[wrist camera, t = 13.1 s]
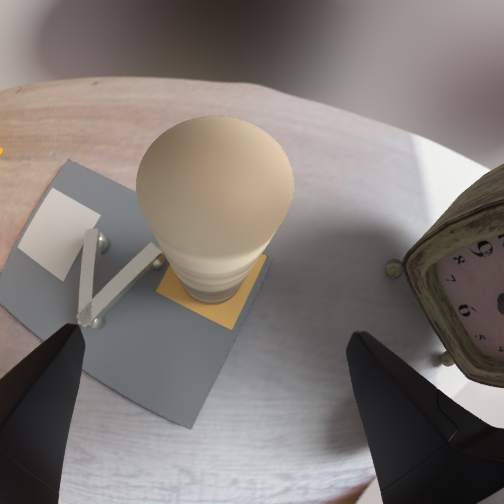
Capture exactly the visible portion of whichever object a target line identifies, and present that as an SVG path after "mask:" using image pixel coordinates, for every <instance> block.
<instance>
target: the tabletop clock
mask: <svg viewBox="0 0 504 504" xmlns="http://www.w3.org/2000/svg"><path fill="white" fill-rule="evenodd" d="M403 271H404V273H405V276H406V279H407V281H408V283H409V285H410V288H411V289H412V291H413V293H414V295H415V297H416V299H417V300H418V302H419V304H420V306H421V308H422V309H423V311H424V313H425V315H426V317H427V319H428V321H429V322H430V324H431V326H432V328H433V330H434V331H435V333H436V334H437V336H438V337H439V339H440V341H441V342H442V344H443V345H444V347H445V349H446V350H447V351H445V352H444V353H443V355H442V357H441V361H442V363H443V364H444V365H445V366H451V365H453V364H454V363H455V364H456V366H457V367H458V368H459V370H460V371H461V372H462V373H463V374H464V375H465V376H466V377H467V378H468V379H470V380H472V381H475V382H478V383H480V384H484V385H488V386H493V387H499V388H504V164H502V165H500V166H499V167H497V168H495V169H493V170H492V171H490V172H488V173H486V174H484V175H483V176H482V177H481V178H480V179H479V180H477V181H476V182H475V183H474V184H473V185H471V186H470V187H469V188H468V189H466V190H465V191H464V192H463V193H462V194H461V195H460V196H459V197H458V198H457V199H456V200H455V201H454V202H453V203H452V204H451V206H450V207H449V208H448V209H447V210H446V211H445V212H444V214H443V215H442V216H441V217H440V218H439V219H438V220H437V221H436V222H435V224H434V225H433V226H432V227H431V228H430V229H429V230H428V231H427V232H426V233H425V234H424V235H423V236H422V238H421V239H420V240H419V241H418V242H417V243H416V244H415V245H414V246H413V247H412V248H411V249H410V250H409V251H408V252H407V254H406V256H405V258H404V259H403V261H402V262H401V261H400V260H397V259H392V260H390V261H389V262H388V264H387V265H386V272H387V274H388V275H389V276H390V277H394V278H397V277H399V276H401V274H402V273H403Z"/></svg>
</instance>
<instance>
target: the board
mask: <svg viewBox="0 0 504 504" xmlns="http://www.w3.org/2000/svg"><path fill="white" fill-rule="evenodd" d="M92 228H98V229H99V230H100V231H101V232H102V233H103V234H104V235H105V236H106V237H107V238H108V239H109V240H110V243H111V246H110V249H109V251H108V252H107V253H105V254H100V264H99V276H98V292H97V294H98V293H99V292H100V291H101V290H102V289H103V288H104V287H105V286H106V285H107V284H108V283H109V282H110V281H111V280H112V279H113V278H114V277H115V276H116V275H117V274H118V273H119V272H120V271H121V270H122V269H123V268H124V267H125V266H126V265H127V264H128V263H129V262H130V261H131V260H132V259H133V258H134V257H136V256H137V255H138V254H139V253H140V252H141V251H142V250H143V249H144V248H145V247H146V246H147V245H148V244H149V243H150V242H152V243H153V244H157V245H159V243H158V241H157V239H156V238H155V236H154V234H153V232H152V230H151V228H150V226H149V224H148V223H147V221H146V219H145V217H144V215H143V213H142V211H141V208H140V205H139V202H138V198H137V192H135V191H133V190H131V189H129V188H127V187H125V186H123V185H121V184H119V183H117V182H115V181H113V180H111V179H109V178H107V177H104V176H102V175H100V174H98V173H96V172H94V171H92V170H90V169H88V168H86V167H84V166H82V165H80V164H78V163H76V162H74V161H72V160H70V159H68V160H67V161H66V163H65V164H64V166H63V167H62V168H61V170H60V171H59V173H58V174H57V176H56V177H55V179H54V180H53V181H52V183H51V184H50V186H49V187H48V189H47V191H46V192H45V194H44V195H43V197H42V198H41V200H40V202H39V203H38V205H37V206H36V208H35V210H34V211H33V213H32V215H31V216H30V218H29V220H28V222H27V223H26V225H25V227H24V229H23V231H22V232H21V234H20V236H19V238H18V240H17V242H16V244H15V246H14V248H13V250H12V252H11V254H10V256H9V258H8V260H7V262H6V264H5V266H4V268H3V270H2V273H1V275H0V303H1V304H2V305H3V306H4V307H5V308H6V309H7V310H8V311H9V312H10V313H11V314H12V315H13V316H15V317H16V318H17V319H18V320H19V321H20V322H21V323H23V324H24V325H25V326H26V327H27V328H28V329H30V330H31V331H32V332H33V333H34V334H36V335H37V336H38V337H39V338H41V339H42V340H43V341H45V340H46V339H48V338H49V337H50V336H51V335H52V334H54V333H55V332H56V331H57V330H59V329H60V328H61V327H62V326H63V325H65V324H66V323H75V324H78V318H77V317H76V316H77V315H78V306H79V288H80V274H81V264H82V254H83V245H84V238H85V230H86V229H92ZM159 246H160V245H159ZM163 253H164V252H163ZM166 260H167V258H166ZM272 260H273V259H272V258H270V257H267V256H266V255H264V254H261V256H260V257H259V259H258V260H257V262H256V264H255V265H254V267H253V268H252V270H251V271H250V273H249V274H248V276H247V277H246V279H245V280H244V282H243V283H242V285H241V287H240V288H239V290H238V291H237V293H236V294H235V295H234V296H233V297H232V298H231V299H229V300H228V301H226V302H224V303H222V304H218V305H205V304H202V303H199V302H197V301H195V300H194V299H192V298H191V297H190V296H189V295H188V294H187V292H186V291H185V289H184V288H183V286H182V284H181V282H180V281H179V279H178V277H177V276H176V274H175V272H174V270H173V268H172V267H171V265H170V263H169V261H168V260H167V262H166V265H165V267H164V268H163V269H161V270H153V269H151V268H150V269H149V270H148V271H147V272H146V273H145V274H144V275H143V276H142V277H141V278H140V279H139V280H138V281H137V282H136V283H135V284H134V285H133V286H132V287H131V288H130V289H129V290H128V291H127V292H126V293H125V294H124V295H123V296H122V297H121V298H120V299H119V300H118V301H117V302H116V303H115V304H114V305H113V306H112V307H111V308H110V309H109V310H108V311H107V312H106V313H105V314H104V315H105V317H106V324H105V326H104V327H103V328H101V329H87V328H84V327H82V326H81V324H78V325H79V326H80V329H81V331H82V334H83V337H84V340H85V345H86V346H85V353H84V359H83V365H82V370H84V371H85V372H87V373H88V374H90V375H91V376H93V377H95V378H96V379H98V380H99V381H101V382H102V383H104V384H105V385H107V386H109V387H110V388H112V389H114V390H115V391H117V392H119V393H120V394H122V395H124V396H125V397H127V398H129V399H131V400H132V401H134V402H136V403H138V404H140V405H142V406H143V407H145V408H147V409H149V410H151V411H153V412H155V413H157V414H159V415H161V416H163V417H165V418H167V419H169V420H171V421H173V422H175V423H177V424H179V425H181V426H183V427H186V428H188V429H190V430H191V428H192V426H193V424H194V422H195V420H196V418H197V416H198V414H199V412H200V410H201V408H202V406H203V404H204V402H205V400H206V398H207V396H208V394H209V392H210V390H211V388H212V386H213V384H214V382H215V380H216V378H217V376H218V374H219V372H220V370H221V368H222V366H223V364H224V362H225V360H226V357H227V355H228V353H229V351H230V349H231V347H232V345H233V343H234V341H235V339H236V337H237V335H238V333H239V331H240V328H241V326H242V324H243V322H244V320H245V318H246V316H247V314H248V312H249V309H250V307H251V305H252V303H253V301H254V299H255V297H256V295H257V293H258V290H259V288H260V286H261V284H262V282H263V280H264V278H265V275H266V273H267V271H268V269H269V267H270V265H271V262H272Z"/></svg>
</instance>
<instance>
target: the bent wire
mask: <svg viewBox="0 0 504 504" xmlns="http://www.w3.org/2000/svg"><path fill="white" fill-rule="evenodd" d="M110 246H111V243H110V240H109V239H108V238H107V237H106V236H105V235H104V234H103V233H102V232H101V231H100V230H99V229H98V228H92V229H86V230H85V238H84V245H83V254H82V264H81V274H80V288H79V306H78V315H77V316H76V317H77V318H78V324H81V326H82V327H84V328H87V329H101V328H103V327H104V326H105V324H106V317H105V315H104V314H105V313H106V312H107V311H108V310H109V309H110V308H111V307H112V306H113V305H114V304H115V303H116V302H117V301H118V300H119V299H120V298H121V297H122V296H123V295H124V294H125V293H126V292H127V291H128V290H129V289H130V288H131V287H132V286H133V285H134V284H135V283H136V282H137V281H138V280H139V279H140V278H141V277H142V276H143V275H144V274H145V273H146V272H147V271H148V270H149V269H150V268H151V269H153V270H161V269H163V268H164V267H165V265H166V262H167V260H166V256H165V254H164V253H163V251H162V249H161V247H160V246H159V245H157V244H153V243H152V242H150V243H149V244H148V245H147V246H146V247H145V248H144V249H143V250H142V251H141V252H140V253H139V254H138V255H137V256H136V257H134V258H133V259H132V260H131V261H130V262H129V263H128V264H127V265H126V266H125V267H124V268H123V269H122V270H121V271H120V272H119V273H118V274H117V275H116V276H115V277H114V278H113V279H112V280H111V281H110V282H109V283H108V284H107V285H106V286H105V287H104V288H103V289H102V290H101V291H100V292H99V293H98V294H97V292H98V276H99V264H100V254H105V253H107V252H108V251H109V249H110Z"/></svg>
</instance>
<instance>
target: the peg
mask: <svg viewBox="0 0 504 504" xmlns="http://www.w3.org/2000/svg"><path fill="white" fill-rule="evenodd" d="M136 192H137V198H138V202H139V205H140V208H141V211H142V213H143V215H144V217H145V219H146V221H147V223H148V224H149V226H150V228H151V230H152V232H153V234H154V236H155V238H156V239H157V241H158V243H159V245H160V247H161V249H162V251H163V252H164V254H165V256H166V258H167V260H168V261H169V263H170V265H171V267H172V268H173V270H174V272H175V274H176V276H177V277H178V279H179V281H180V282H181V284H182V286H183V288H184V289H185V291H186V292H187V294H188V295H189V296H190V297H191V298H192V299H194V300H195V301H197V302H199V303H202V304H205V305H218V304H222V303H224V302H226V301H228V300H229V299H231V298H232V297H233V296H234V295H235V294H236V293H237V291H238V290H239V288H240V287H241V285H242V283H243V282H244V280H245V279H246V277H247V276H248V274H249V273H250V271H251V270H252V268H253V267H254V265H255V264H256V262H257V260H258V259H259V257H260V256H261V254H262V253H263V251H264V250H265V248H266V247H267V245H268V243H269V242H270V240H271V239H272V237H273V236H274V234H275V233H276V231H277V230H278V228H279V226H280V225H281V223H282V222H283V220H284V219H285V217H286V215H287V213H288V211H289V209H290V206H291V203H292V199H293V194H294V176H293V172H292V168H291V165H290V162H289V160H288V158H287V156H286V154H285V152H284V151H283V149H282V148H281V147H280V145H279V144H278V143H277V142H276V141H275V140H274V139H273V138H272V137H271V136H270V135H269V134H267V133H266V132H265V131H263V130H262V129H260V128H259V127H257V126H255V125H253V124H251V123H248V122H246V121H243V120H240V119H236V118H232V117H225V116H206V117H199V118H194V119H191V120H187V121H184V122H182V123H180V124H177V125H175V126H174V127H172V128H170V129H169V130H167V131H166V132H164V133H163V134H162V135H161V136H159V137H158V138H157V139H156V140H155V141H154V142H153V143H152V145H151V146H150V147H149V148H148V150H147V152H146V153H145V155H144V157H143V159H142V161H141V163H140V166H139V169H138V173H137V180H136Z"/></svg>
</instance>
